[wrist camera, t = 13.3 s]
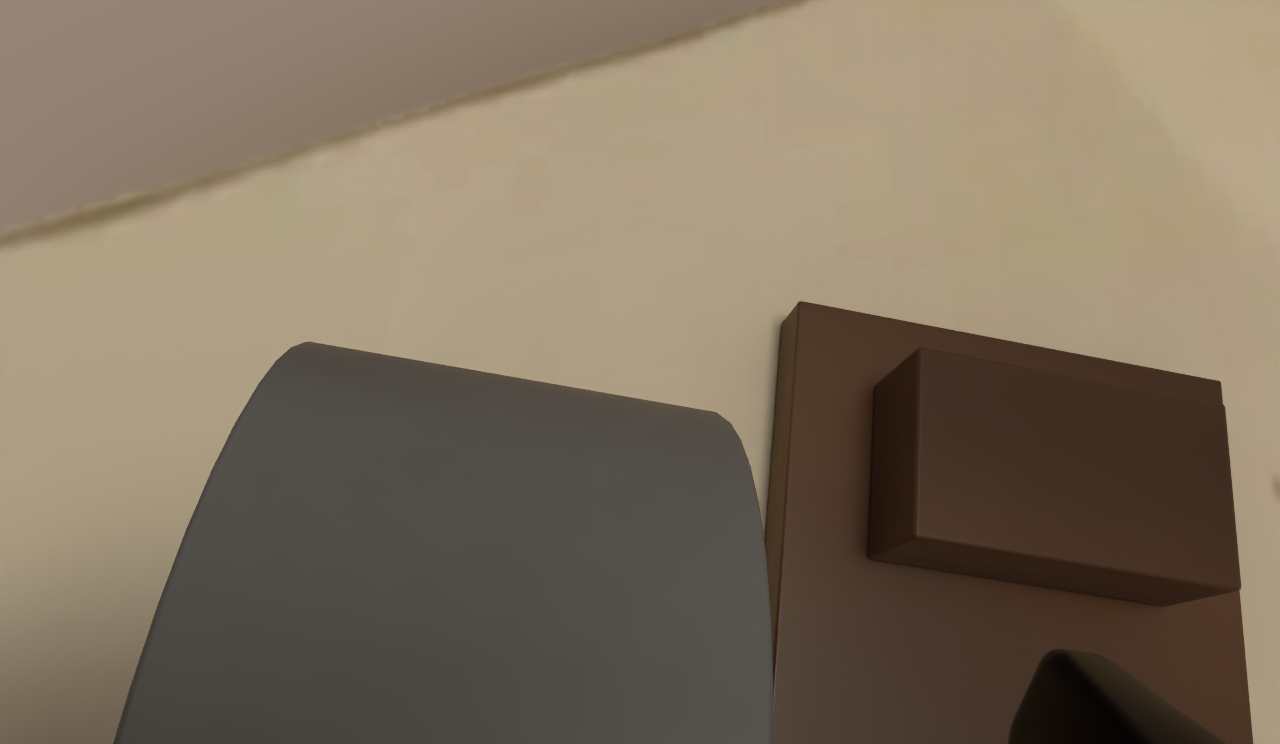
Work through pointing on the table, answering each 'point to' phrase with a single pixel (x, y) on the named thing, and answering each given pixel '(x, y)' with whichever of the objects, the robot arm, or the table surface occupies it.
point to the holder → (989, 532)
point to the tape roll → (461, 569)
